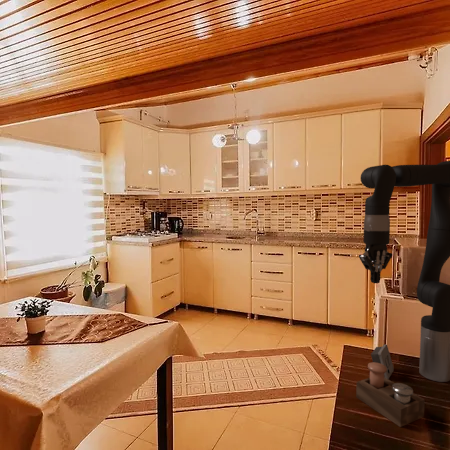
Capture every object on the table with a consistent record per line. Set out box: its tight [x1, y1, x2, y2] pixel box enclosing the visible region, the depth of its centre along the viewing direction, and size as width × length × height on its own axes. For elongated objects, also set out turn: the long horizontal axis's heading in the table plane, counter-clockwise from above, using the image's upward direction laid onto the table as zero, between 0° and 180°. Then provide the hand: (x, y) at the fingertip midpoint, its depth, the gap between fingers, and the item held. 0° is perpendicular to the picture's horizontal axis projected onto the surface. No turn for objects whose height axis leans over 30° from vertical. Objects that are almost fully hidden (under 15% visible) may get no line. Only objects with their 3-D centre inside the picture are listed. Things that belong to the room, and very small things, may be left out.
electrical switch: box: [370, 343, 395, 380], centre depth 115 cm, size 9×5×9 cm, turn 141°
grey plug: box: [392, 382, 414, 405], centre depth 92 cm, size 5×5×8 cm
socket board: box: [355, 377, 426, 428], centre depth 96 cm, size 10×15×5 cm, turn 25°
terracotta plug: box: [367, 361, 387, 389], centre depth 100 cm, size 5×5×8 cm
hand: (375, 282), depth 104 cm, fingers closed
